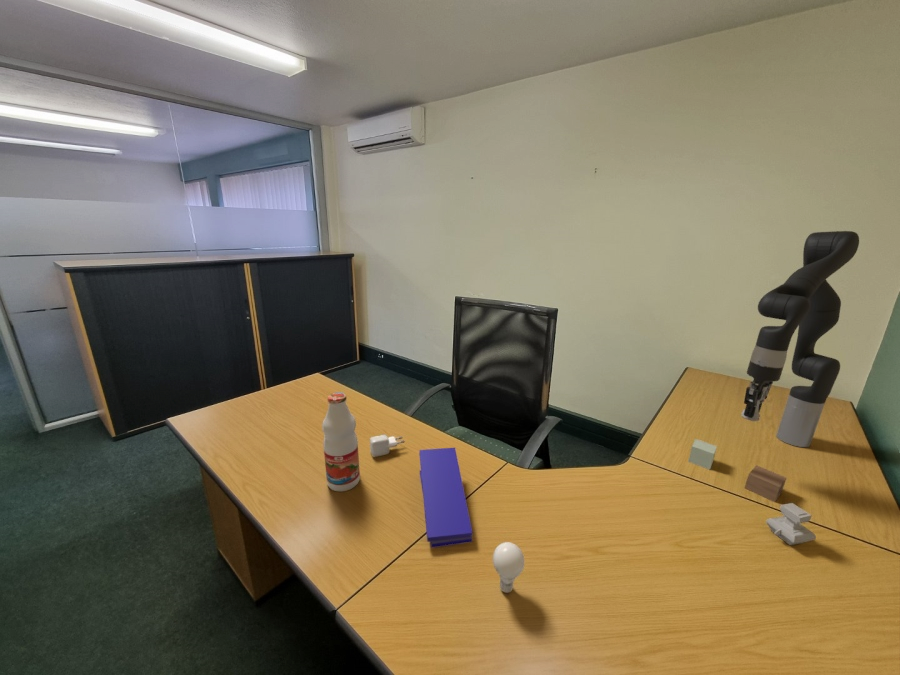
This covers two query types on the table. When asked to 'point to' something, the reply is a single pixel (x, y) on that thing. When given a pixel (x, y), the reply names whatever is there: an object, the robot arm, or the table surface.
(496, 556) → the lightbulb
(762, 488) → the walnut block
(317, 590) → the table surface
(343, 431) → the fruit juice
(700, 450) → the sage block
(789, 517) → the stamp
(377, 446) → the power adapter
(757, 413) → the rook chess piece
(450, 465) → the purple rectangular block
